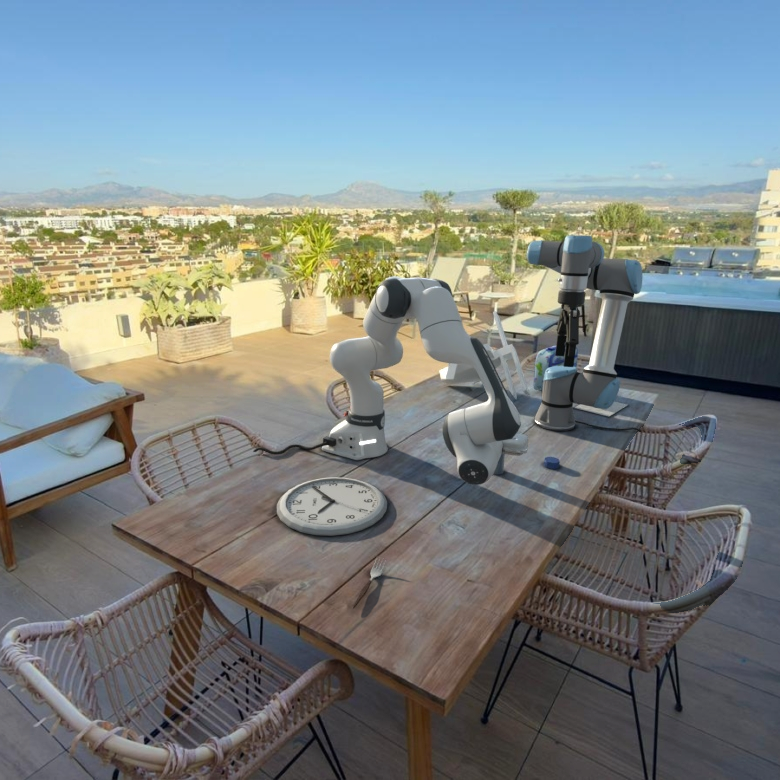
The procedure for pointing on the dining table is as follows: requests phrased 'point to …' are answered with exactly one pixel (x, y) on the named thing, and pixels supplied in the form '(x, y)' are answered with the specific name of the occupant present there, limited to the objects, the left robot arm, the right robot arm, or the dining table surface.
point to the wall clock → (331, 506)
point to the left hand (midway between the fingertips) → (493, 429)
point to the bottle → (500, 465)
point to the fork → (374, 573)
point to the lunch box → (547, 364)
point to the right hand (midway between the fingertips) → (563, 361)
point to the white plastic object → (502, 355)
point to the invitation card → (606, 412)
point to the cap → (551, 462)
